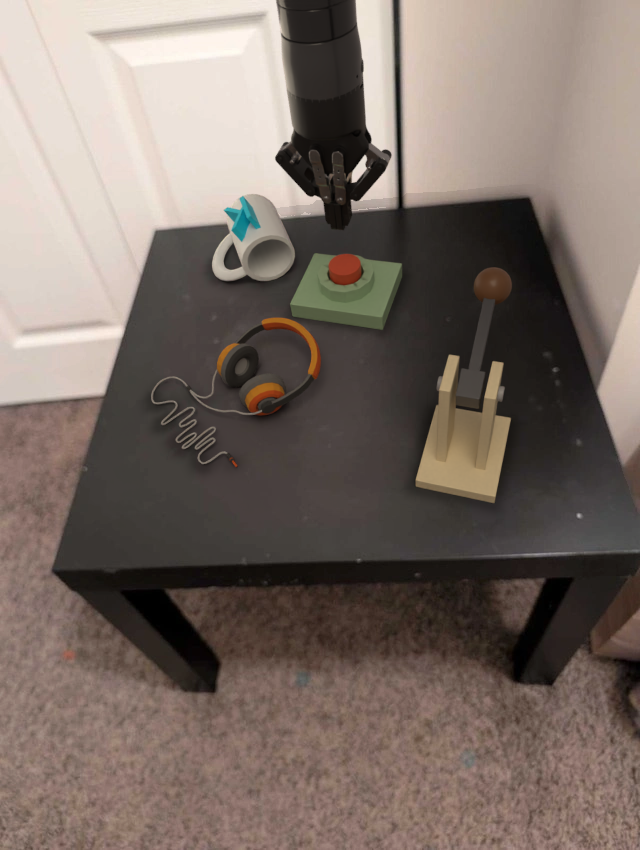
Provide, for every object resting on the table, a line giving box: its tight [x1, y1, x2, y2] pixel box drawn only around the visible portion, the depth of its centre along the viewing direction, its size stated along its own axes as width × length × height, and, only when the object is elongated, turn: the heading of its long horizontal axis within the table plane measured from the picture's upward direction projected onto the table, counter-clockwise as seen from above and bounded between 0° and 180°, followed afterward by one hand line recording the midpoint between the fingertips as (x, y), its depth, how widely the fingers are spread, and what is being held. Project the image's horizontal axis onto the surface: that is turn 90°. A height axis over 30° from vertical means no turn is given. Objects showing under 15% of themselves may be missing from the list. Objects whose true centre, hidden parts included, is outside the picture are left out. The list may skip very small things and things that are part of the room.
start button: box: [329, 253, 362, 285], centre depth 83 cm, size 4×4×2 cm
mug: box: [211, 193, 296, 282], centre depth 91 cm, size 12×9×12 cm
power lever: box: [455, 266, 513, 410], centre depth 63 cm, size 14×4×4 cm, turn 162°
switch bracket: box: [415, 354, 512, 504], centre depth 65 cm, size 10×8×13 cm
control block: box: [289, 252, 403, 331], centre depth 85 cm, size 12×10×4 cm
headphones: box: [150, 317, 322, 468], centre depth 77 cm, size 17×5×20 cm
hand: (340, 225), depth 78 cm, fingers closed
